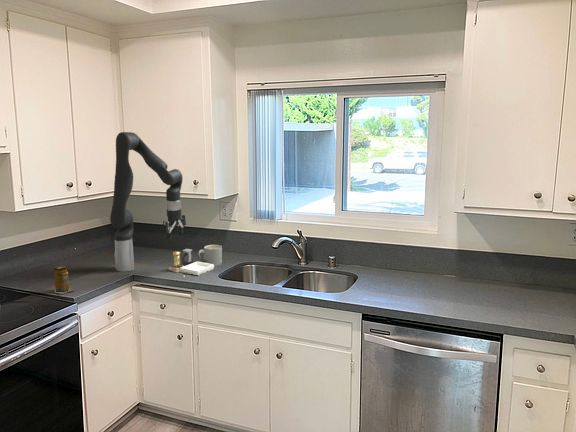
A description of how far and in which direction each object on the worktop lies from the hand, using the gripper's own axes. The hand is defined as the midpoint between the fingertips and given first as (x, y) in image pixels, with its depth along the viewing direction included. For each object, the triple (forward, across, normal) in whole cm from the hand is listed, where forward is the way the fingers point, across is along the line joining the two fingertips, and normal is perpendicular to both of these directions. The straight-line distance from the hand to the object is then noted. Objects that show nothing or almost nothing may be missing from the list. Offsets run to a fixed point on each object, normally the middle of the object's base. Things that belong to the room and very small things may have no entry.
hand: (175, 236), depth 247 cm
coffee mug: (+22, -20, +7) cm, 31 cm away
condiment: (+18, +52, -23) cm, 60 cm away
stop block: (+21, -1, 0) cm, 21 cm away
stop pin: (+21, -1, 0) cm, 21 cm away
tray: (+20, -6, +10) cm, 23 cm away
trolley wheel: (+22, -9, -1) cm, 23 cm away
